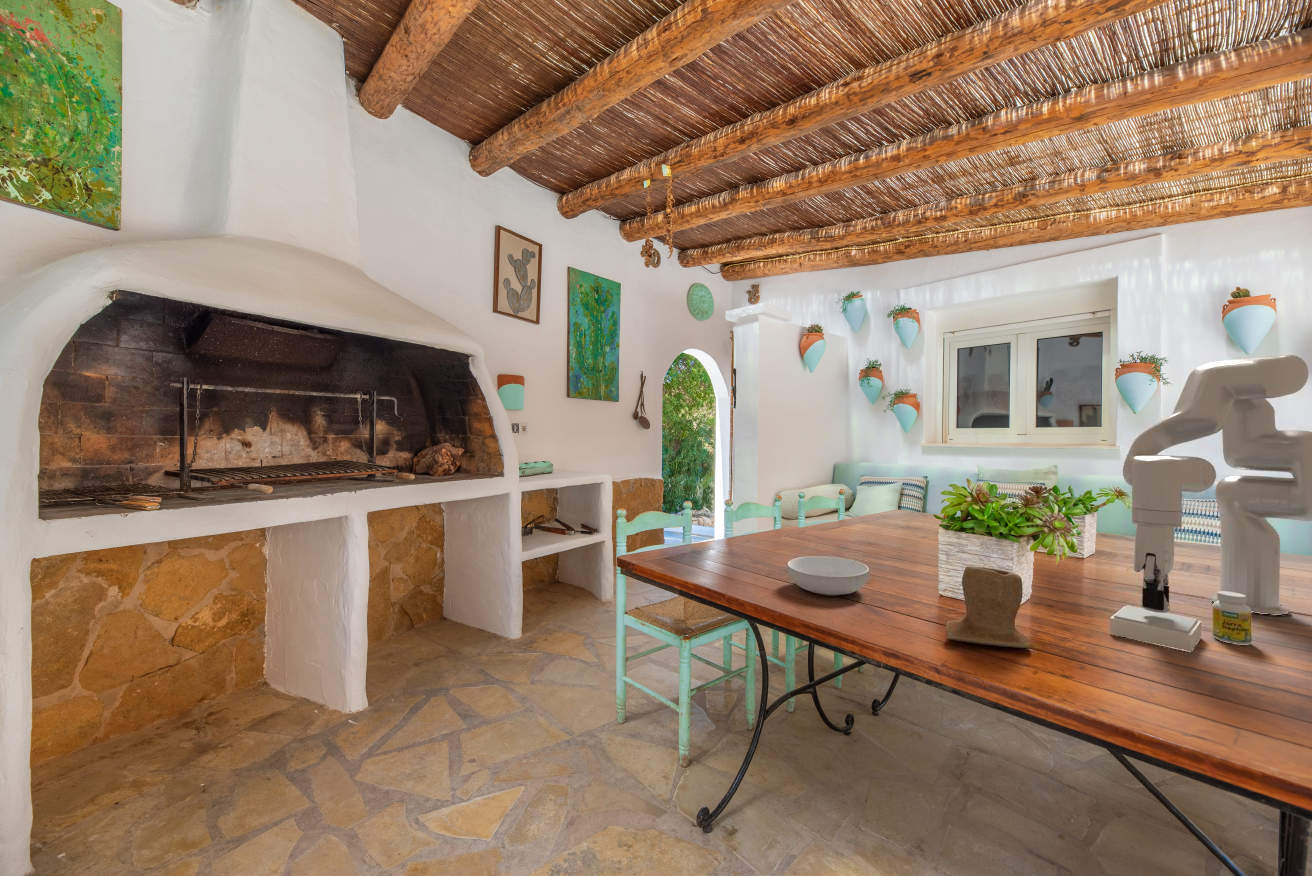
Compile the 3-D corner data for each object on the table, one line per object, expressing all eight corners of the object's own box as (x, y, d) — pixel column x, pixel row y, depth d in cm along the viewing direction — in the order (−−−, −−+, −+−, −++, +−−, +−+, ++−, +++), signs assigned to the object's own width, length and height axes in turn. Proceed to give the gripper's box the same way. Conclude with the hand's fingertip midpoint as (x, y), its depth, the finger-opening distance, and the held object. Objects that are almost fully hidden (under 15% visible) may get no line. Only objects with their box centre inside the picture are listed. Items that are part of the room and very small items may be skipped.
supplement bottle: (1244, 639, 109) (1244, 592, 109) (1256, 648, 104) (1257, 599, 104) (1207, 634, 111) (1208, 588, 111) (1218, 643, 107) (1219, 595, 107)
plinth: (1124, 621, 119) (1124, 604, 118) (1201, 638, 109) (1201, 618, 109) (1110, 634, 111) (1110, 615, 111) (1191, 653, 102) (1191, 632, 102)
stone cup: (1018, 635, 111) (1018, 563, 111) (1037, 657, 100) (1038, 578, 100) (937, 626, 116) (937, 557, 116) (946, 646, 105) (947, 571, 105)
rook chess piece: (1139, 604, 113) (1140, 567, 113) (1169, 609, 110) (1169, 570, 110) (1141, 610, 110) (1141, 571, 110) (1171, 614, 107) (1171, 575, 107)
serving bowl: (771, 585, 148) (771, 560, 148) (829, 576, 157) (829, 553, 157) (824, 607, 129) (824, 579, 129) (887, 596, 138) (887, 569, 138)
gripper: (1141, 511, 118) (1140, 594, 118) (1122, 519, 108) (1121, 609, 108) (1188, 515, 112) (1188, 602, 112) (1173, 524, 102) (1172, 620, 102)
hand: (1155, 605), depth 110 cm, fingers closed on rook chess piece, 4 cm apart
